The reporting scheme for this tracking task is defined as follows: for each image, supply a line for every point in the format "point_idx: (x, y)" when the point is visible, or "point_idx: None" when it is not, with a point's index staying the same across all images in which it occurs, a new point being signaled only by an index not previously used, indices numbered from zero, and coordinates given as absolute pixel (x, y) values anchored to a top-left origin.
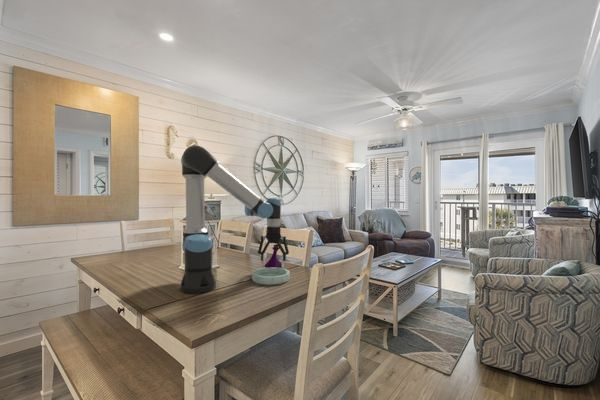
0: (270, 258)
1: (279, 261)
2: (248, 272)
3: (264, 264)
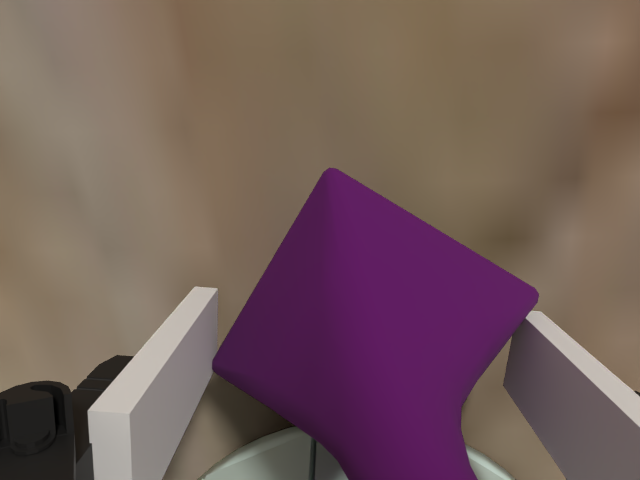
0: (307, 420)
1: (498, 341)
2: (28, 359)
3: (206, 372)
